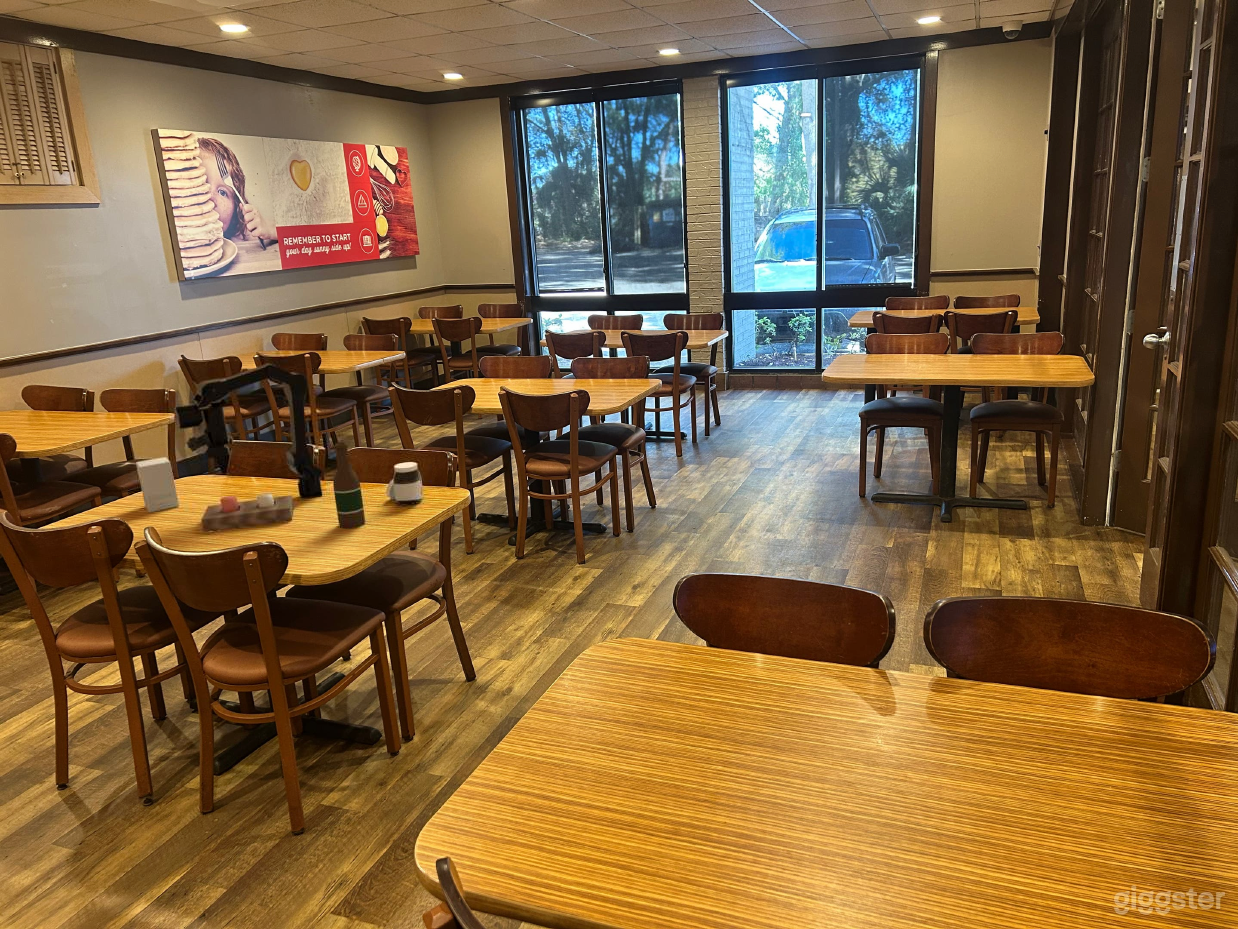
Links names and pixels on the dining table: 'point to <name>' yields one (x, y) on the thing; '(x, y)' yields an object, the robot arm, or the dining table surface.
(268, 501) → the grey plunger
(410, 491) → the spread jar
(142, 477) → the supplement box
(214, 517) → the press panel
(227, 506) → the red plunger
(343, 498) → the beer bottle
